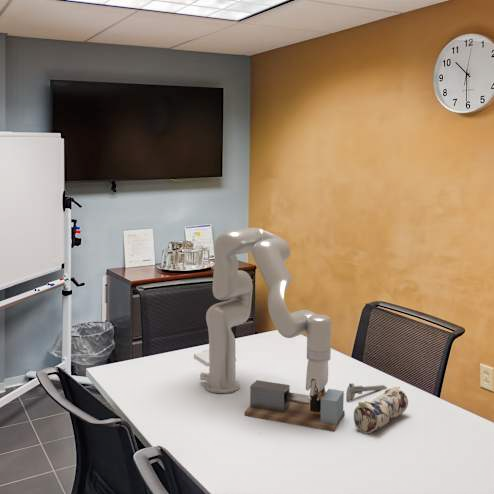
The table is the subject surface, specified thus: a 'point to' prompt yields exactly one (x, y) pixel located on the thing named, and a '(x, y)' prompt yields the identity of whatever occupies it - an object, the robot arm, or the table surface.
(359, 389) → the caliper
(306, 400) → the tube
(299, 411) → the board
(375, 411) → the pencil case
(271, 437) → the table surface
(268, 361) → the table surface
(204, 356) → the mounting plate
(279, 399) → the sleeve
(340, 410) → the socket
